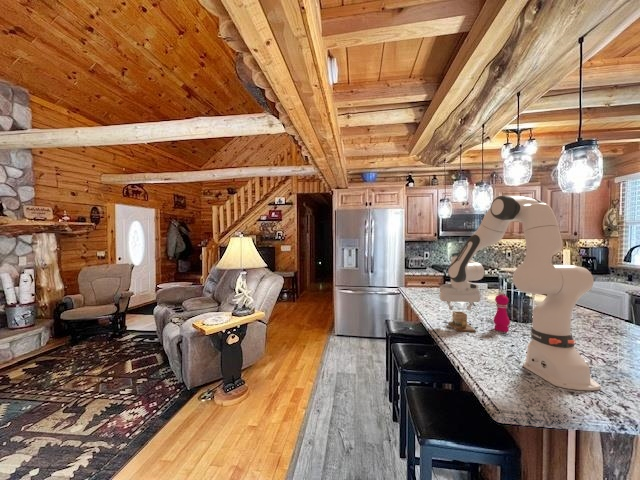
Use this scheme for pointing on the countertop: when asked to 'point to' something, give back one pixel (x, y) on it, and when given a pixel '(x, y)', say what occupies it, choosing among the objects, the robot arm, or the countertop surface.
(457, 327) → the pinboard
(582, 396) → the countertop surface
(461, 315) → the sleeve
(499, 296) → the pepper mill
